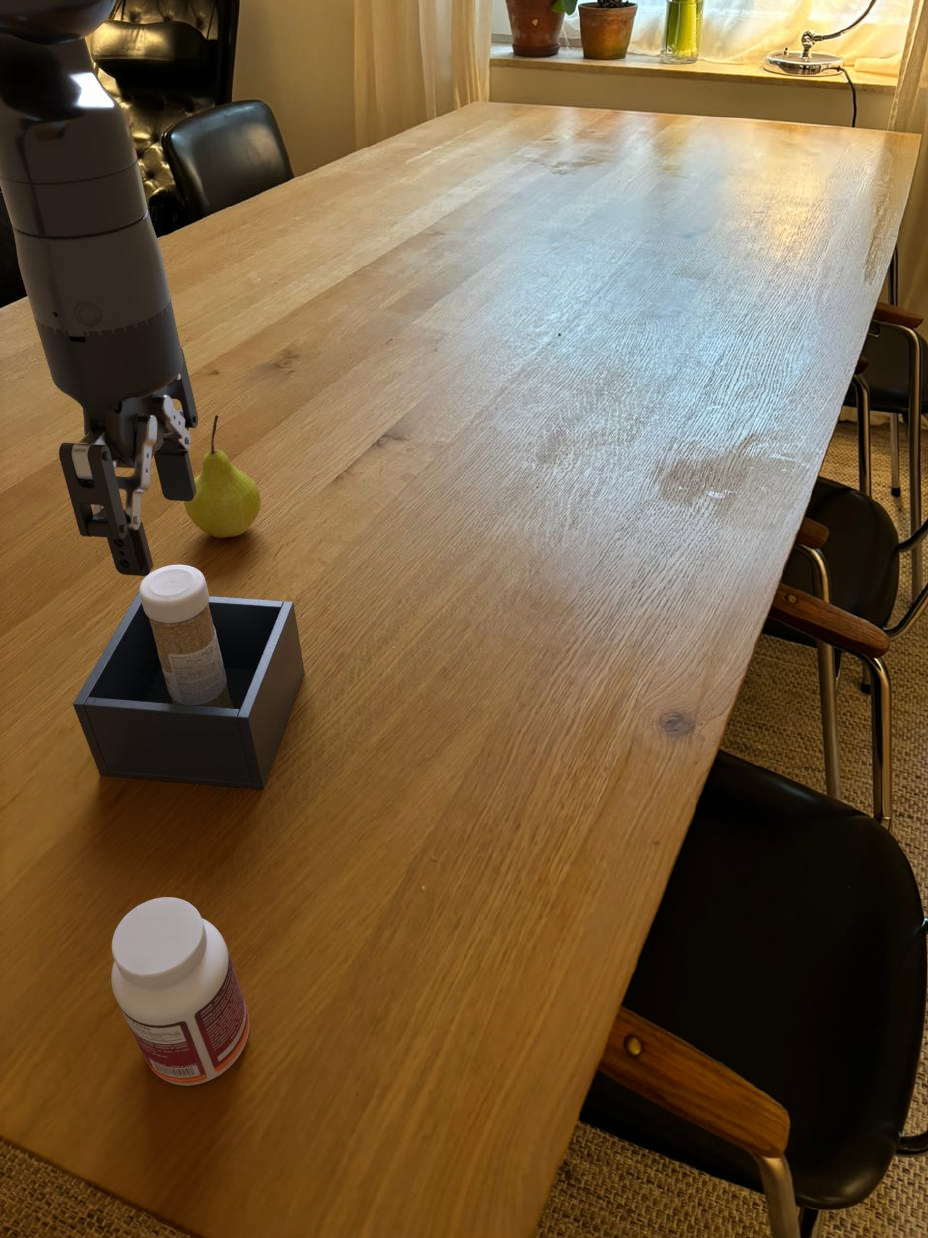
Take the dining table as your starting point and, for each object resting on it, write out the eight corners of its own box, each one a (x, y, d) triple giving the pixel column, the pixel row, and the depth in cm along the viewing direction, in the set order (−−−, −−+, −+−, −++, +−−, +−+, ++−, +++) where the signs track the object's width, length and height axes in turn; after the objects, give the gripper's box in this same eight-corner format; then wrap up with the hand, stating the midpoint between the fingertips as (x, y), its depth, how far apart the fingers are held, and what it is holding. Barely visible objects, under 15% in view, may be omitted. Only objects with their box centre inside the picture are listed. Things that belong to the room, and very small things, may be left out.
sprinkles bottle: (177, 699, 79) (140, 565, 70) (235, 692, 80) (205, 558, 71) (174, 741, 76) (135, 606, 67) (235, 733, 76) (203, 598, 68)
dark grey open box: (99, 775, 74) (72, 704, 69) (158, 661, 83) (138, 590, 79) (263, 790, 73) (248, 718, 68) (304, 672, 82) (293, 601, 77)
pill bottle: (228, 970, 62) (194, 864, 55) (267, 1052, 58) (237, 950, 51) (130, 1021, 59) (82, 918, 52) (164, 1111, 55) (117, 1012, 48)
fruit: (233, 560, 94) (210, 450, 86) (177, 540, 97) (151, 432, 89) (277, 523, 99) (260, 416, 91) (223, 505, 101) (202, 399, 93)
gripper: (88, 250, 62) (144, 473, 72) (-24, 350, 51) (60, 596, 61) (205, 254, 61) (244, 480, 71) (116, 357, 50) (177, 605, 61)
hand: (159, 533), depth 66 cm, fingers open, 8 cm apart
